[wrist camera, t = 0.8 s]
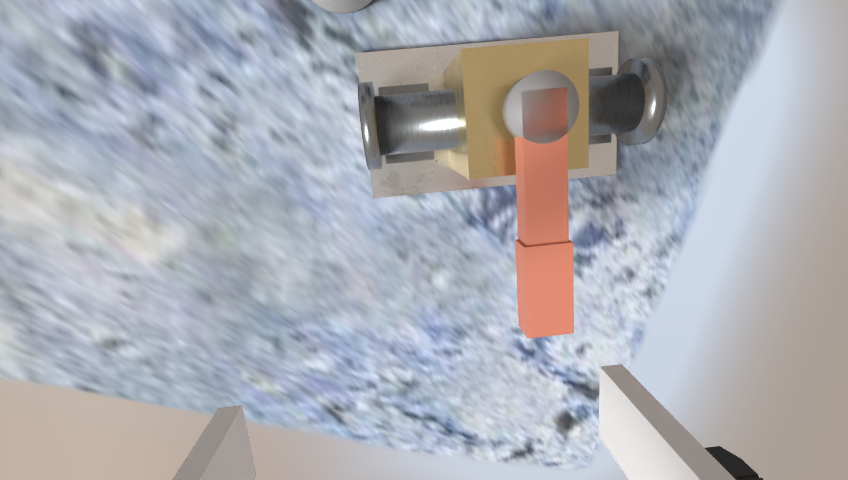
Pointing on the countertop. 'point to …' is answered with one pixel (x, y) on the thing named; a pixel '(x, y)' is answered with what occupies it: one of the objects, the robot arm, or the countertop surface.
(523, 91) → the lever
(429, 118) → the valve
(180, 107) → the countertop surface
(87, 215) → the countertop surface
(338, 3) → the cup
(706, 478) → the robot arm
